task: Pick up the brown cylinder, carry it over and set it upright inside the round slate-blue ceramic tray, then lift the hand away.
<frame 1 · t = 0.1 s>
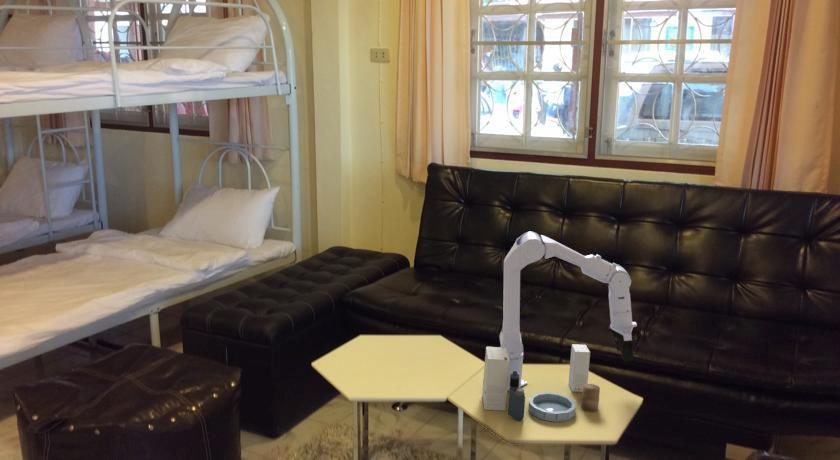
hand: (624, 355, 199), 11 cm above the table, tool pointing down, fingers open, 7 cm apart
round tray: (551, 410, 188), on the table
brown cylinder: (589, 408, 190), on the table
skincare box: (577, 388, 203), on the table
skincare box 2: (494, 404, 191), on the table
vaping device: (515, 417, 184), on the table
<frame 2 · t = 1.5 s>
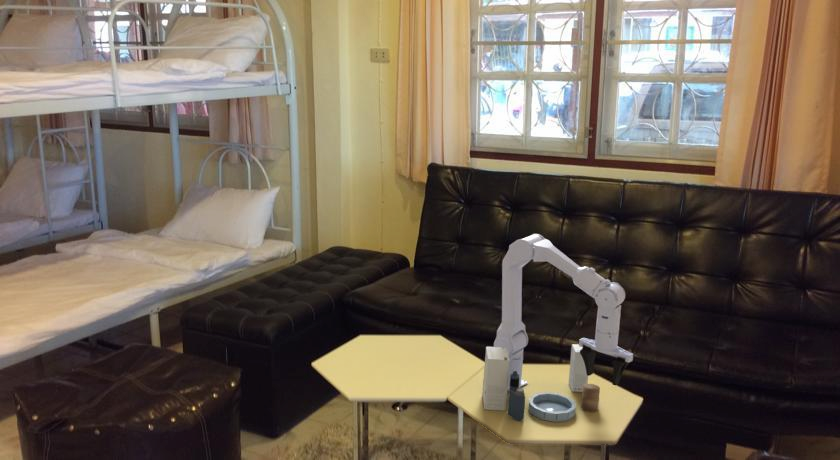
hand: (602, 379, 186), 9 cm above the table, tool pointing down, fingers open, 7 cm apart
nothing on the table moved.
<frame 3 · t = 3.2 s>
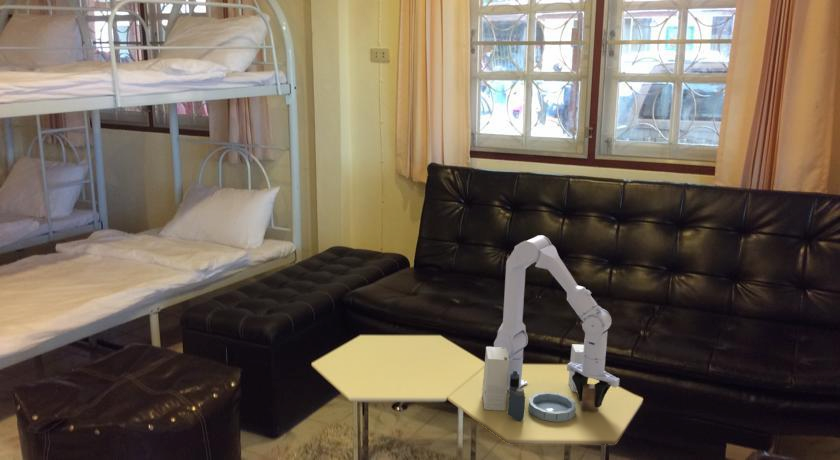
hand: (590, 403, 190), 1 cm above the table, tool pointing down, fingers closed on brown cylinder, 4 cm apart
brown cylinder: (589, 408, 190), on the table, touching gripper
everything else where it was.
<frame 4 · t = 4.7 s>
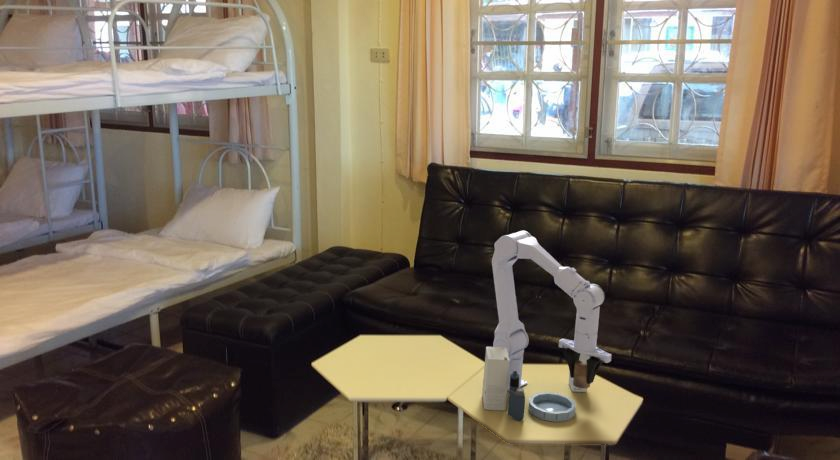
hand: (581, 379, 188), 8 cm above the table, tool pointing down, fingers closed on brown cylinder, 4 cm apart
brown cylinder: (581, 384, 188), point 7 cm above the table, touching gripper
everything else where it was.
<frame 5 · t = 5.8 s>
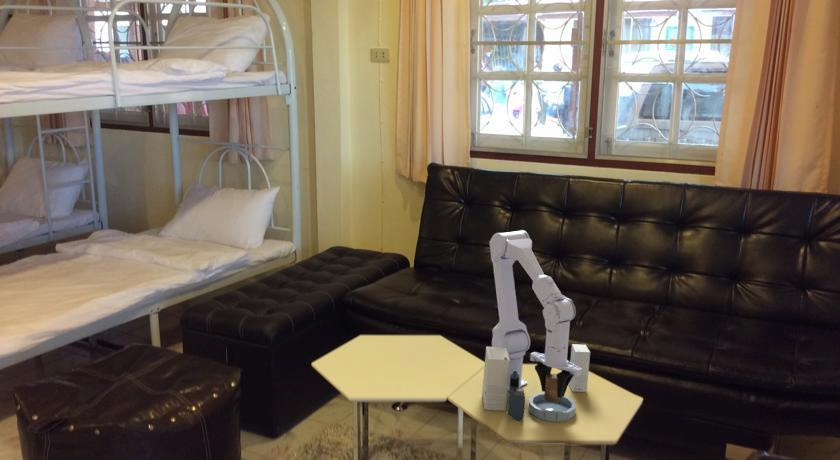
hand: (553, 393, 187), 5 cm above the table, tool pointing down, fingers closed on brown cylinder, 4 cm apart
brown cylinder: (552, 398, 187), point 4 cm above the table, touching gripper
everything else where it was.
when the fingers open (3 cm above the table, at t = 6.6 s): brown cylinder drops 1 cm, resting on round tray.
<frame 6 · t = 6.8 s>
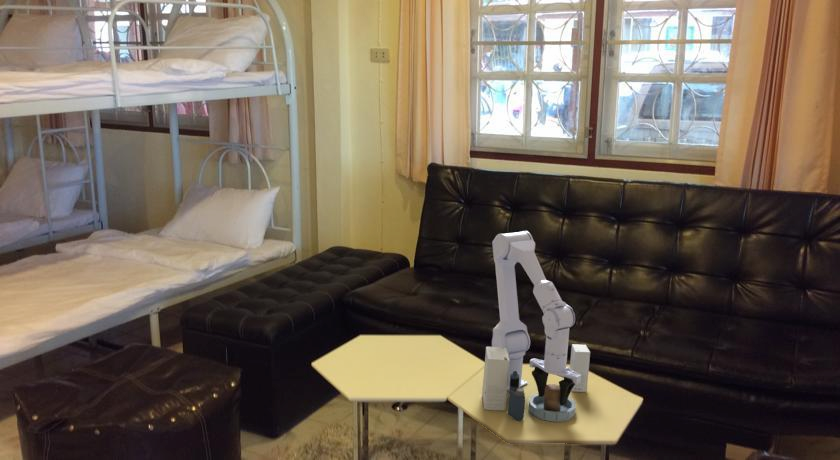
hand: (552, 399, 187), 3 cm above the table, tool pointing down, fingers open, 6 cm apart
brown cylinder: (551, 408, 188), point 1 cm above the table, touching round tray
everything else where it was.
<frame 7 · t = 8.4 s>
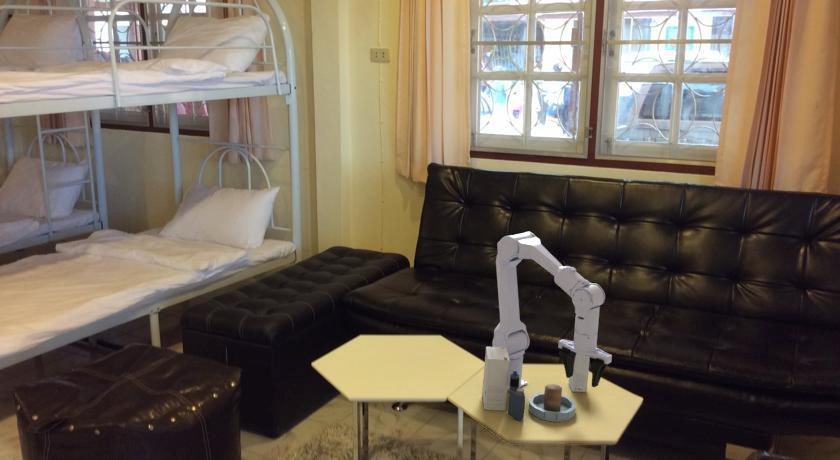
hand: (582, 381, 184), 10 cm above the table, tool pointing down, fingers open, 7 cm apart
nothing on the table moved.
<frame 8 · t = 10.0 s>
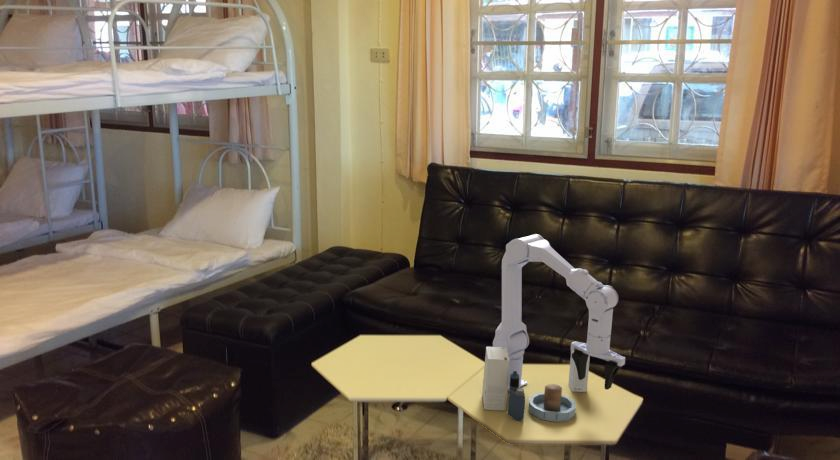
hand: (594, 383, 183), 9 cm above the table, tool pointing down, fingers open, 7 cm apart
nothing on the table moved.
at the end: brown cylinder inside the target area on the round tray (0.0 cm from its centre), point 0.6 cm above the round tray's base; brown cylinder tilted 0°; the gripper is holding nothing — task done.
